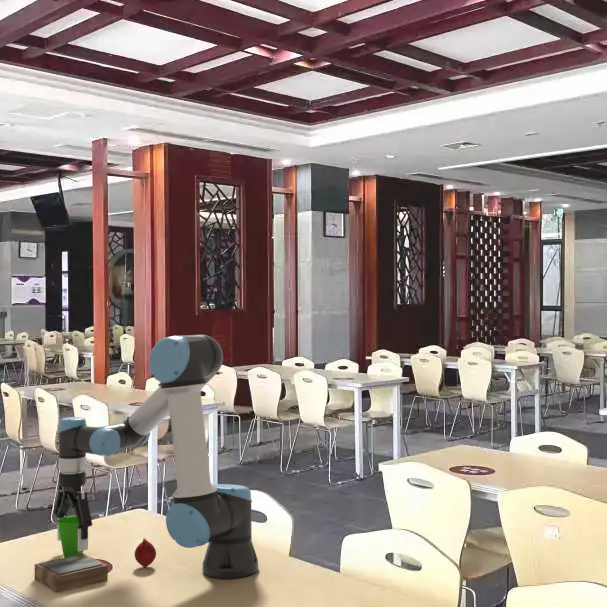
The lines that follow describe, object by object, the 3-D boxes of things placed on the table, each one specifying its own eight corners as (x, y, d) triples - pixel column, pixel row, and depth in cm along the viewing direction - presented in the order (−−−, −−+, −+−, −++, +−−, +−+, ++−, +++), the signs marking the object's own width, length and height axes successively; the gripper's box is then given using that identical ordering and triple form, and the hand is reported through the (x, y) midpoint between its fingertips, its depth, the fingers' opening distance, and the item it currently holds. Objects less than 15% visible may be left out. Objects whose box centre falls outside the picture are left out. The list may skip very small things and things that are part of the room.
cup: (80, 563, 232) (80, 524, 232) (51, 561, 234) (50, 522, 234) (94, 553, 241) (94, 516, 241) (66, 552, 243) (65, 514, 243)
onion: (160, 565, 229) (159, 536, 229) (148, 571, 224) (147, 542, 224) (143, 562, 232) (142, 534, 232) (130, 569, 226) (130, 539, 226)
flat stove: (107, 580, 217) (107, 564, 217) (57, 592, 208) (56, 575, 208) (83, 567, 228) (83, 552, 228) (34, 579, 219) (34, 563, 219)
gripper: (104, 476, 230) (104, 552, 230) (66, 463, 249) (66, 533, 249) (79, 480, 225) (79, 557, 226) (42, 466, 244) (42, 537, 245)
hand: (72, 544), depth 238 cm, fingers open, 13 cm apart
